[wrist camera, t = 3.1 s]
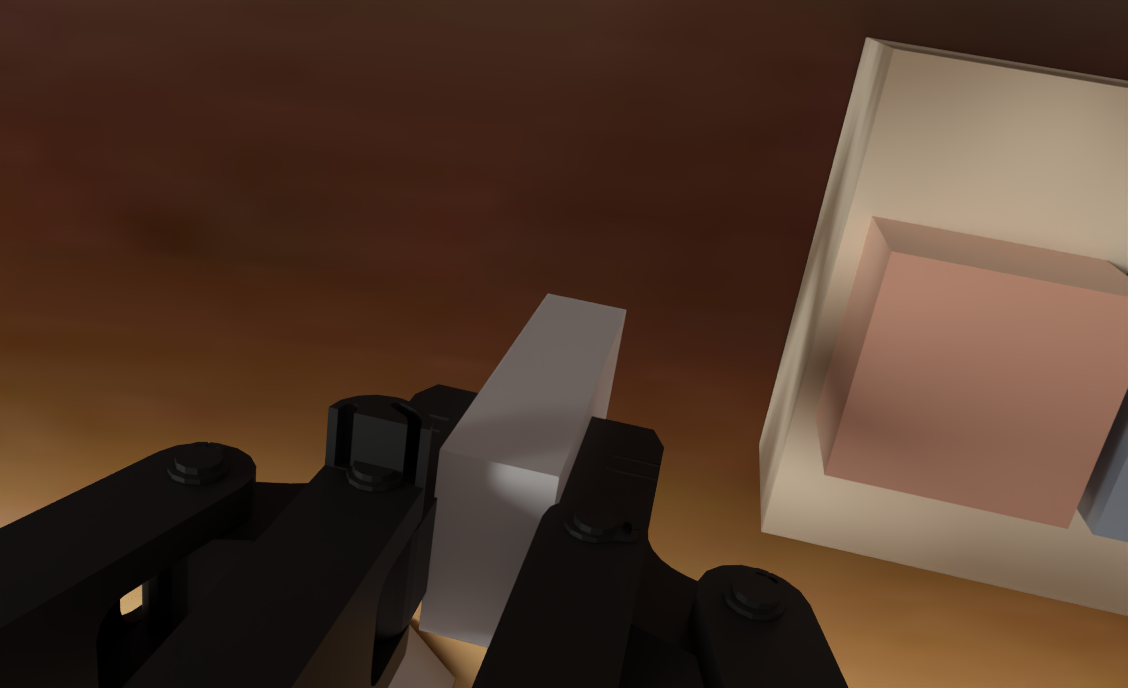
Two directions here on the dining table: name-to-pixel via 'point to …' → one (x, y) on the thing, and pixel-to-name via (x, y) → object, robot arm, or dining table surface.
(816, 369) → the cream square tray
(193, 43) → the dining table surface
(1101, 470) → the slate tile
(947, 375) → the terracotta tile
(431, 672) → the flask
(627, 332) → the dining table surface
